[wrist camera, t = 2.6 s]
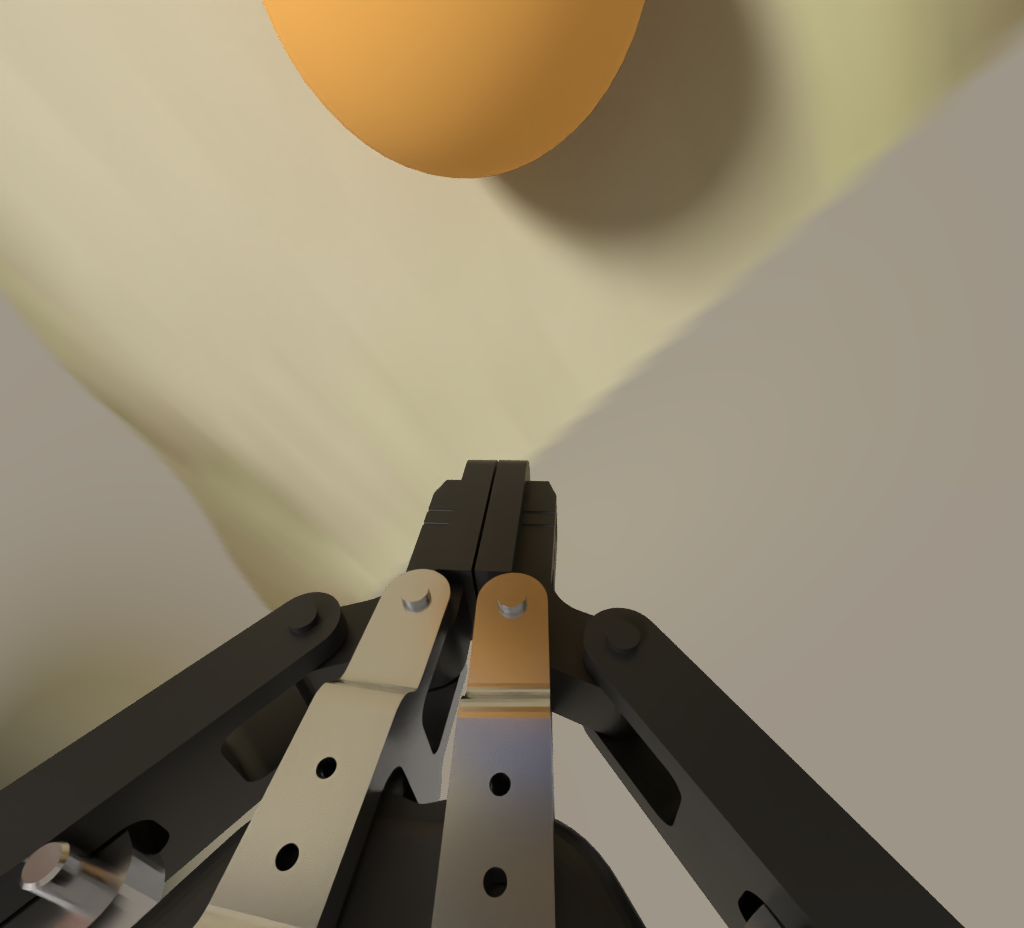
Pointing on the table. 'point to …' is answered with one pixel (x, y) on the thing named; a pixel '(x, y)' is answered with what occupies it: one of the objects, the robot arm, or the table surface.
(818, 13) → the table surface
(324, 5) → the ball
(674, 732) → the robot arm
